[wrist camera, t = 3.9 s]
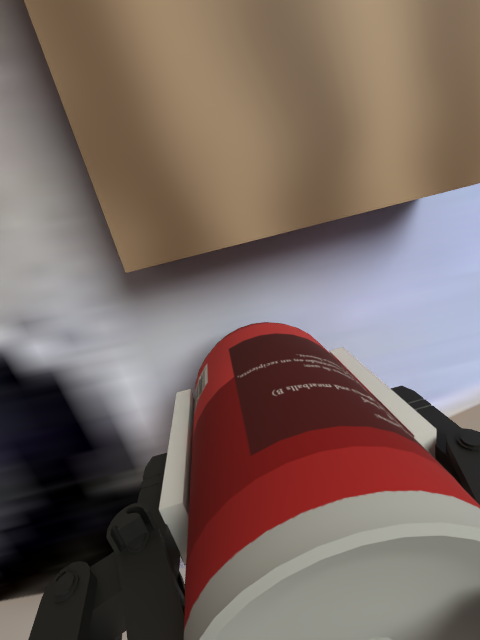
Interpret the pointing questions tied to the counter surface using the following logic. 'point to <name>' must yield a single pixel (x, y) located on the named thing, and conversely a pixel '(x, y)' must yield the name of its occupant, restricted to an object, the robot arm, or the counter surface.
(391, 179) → the walnut base
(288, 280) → the counter surface
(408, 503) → the canned food
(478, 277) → the counter surface
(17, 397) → the counter surface
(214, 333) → the counter surface
